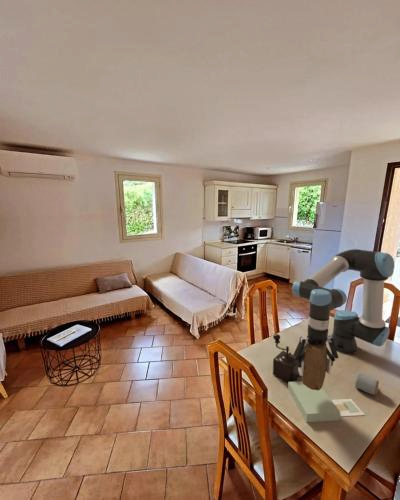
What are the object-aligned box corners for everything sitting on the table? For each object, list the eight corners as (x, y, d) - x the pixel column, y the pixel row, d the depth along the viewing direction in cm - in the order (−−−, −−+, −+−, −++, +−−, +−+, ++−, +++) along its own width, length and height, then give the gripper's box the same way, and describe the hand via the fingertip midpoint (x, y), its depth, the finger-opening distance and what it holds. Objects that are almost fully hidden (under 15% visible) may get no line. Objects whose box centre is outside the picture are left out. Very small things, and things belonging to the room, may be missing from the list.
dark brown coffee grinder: (301, 374, 116) (303, 343, 113) (291, 385, 109) (293, 353, 105) (274, 360, 127) (275, 331, 124) (263, 369, 120) (264, 339, 117)
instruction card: (350, 399, 100) (350, 398, 100) (364, 415, 92) (364, 414, 92) (329, 400, 100) (329, 399, 100) (341, 416, 92) (341, 416, 92)
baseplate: (315, 387, 107) (316, 380, 106) (339, 420, 90) (340, 411, 90) (287, 389, 107) (288, 381, 106) (306, 422, 90) (306, 414, 89)
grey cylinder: (376, 399, 100) (378, 384, 99) (354, 390, 105) (356, 375, 104) (378, 386, 107) (380, 372, 106) (358, 378, 113) (359, 364, 112)
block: (317, 395, 90) (321, 351, 87) (299, 384, 96) (302, 343, 92) (327, 381, 97) (331, 340, 94) (309, 372, 103) (312, 333, 99)
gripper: (294, 332, 88) (291, 380, 92) (351, 330, 89) (346, 377, 93) (286, 322, 95) (283, 367, 99) (339, 320, 96) (334, 365, 100)
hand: (314, 372), depth 96 cm, fingers closed on block, 11 cm apart
